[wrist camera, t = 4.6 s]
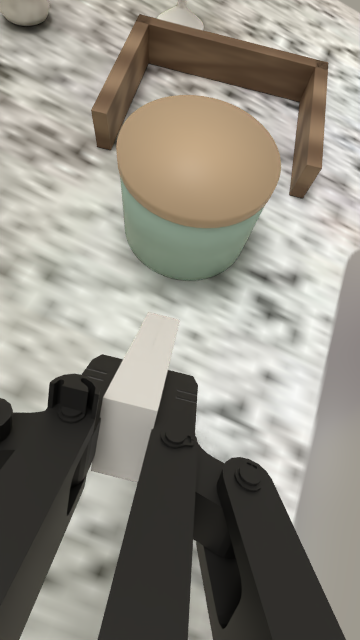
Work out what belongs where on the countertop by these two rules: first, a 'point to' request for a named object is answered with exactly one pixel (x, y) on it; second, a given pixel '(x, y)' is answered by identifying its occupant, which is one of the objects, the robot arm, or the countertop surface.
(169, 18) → the champagne flute
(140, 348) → the robot arm
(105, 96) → the walnut bay
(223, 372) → the countertop surface
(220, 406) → the countertop surface
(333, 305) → the countertop surface
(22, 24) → the plastic bottle
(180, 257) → the green canister
